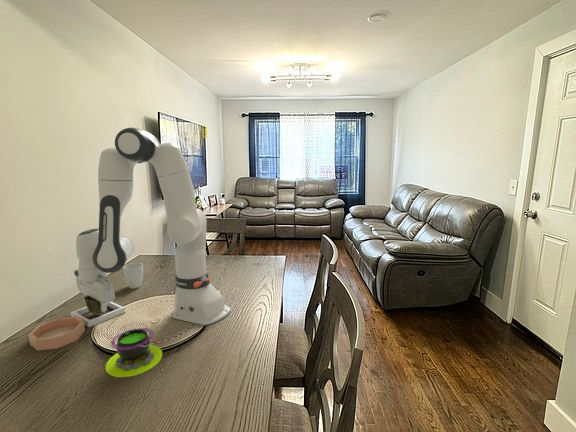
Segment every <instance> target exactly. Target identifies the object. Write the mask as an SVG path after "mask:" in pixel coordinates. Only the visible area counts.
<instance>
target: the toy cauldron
mask: <svg viewBox="0 0 576 432" xmlns="http://www.w3.org/2000/svg"><path fill="white" fill-rule="evenodd" d="M131 323H133V324H132V326H133V325H135V323H134V321H132V322H131ZM140 325H143V326H145V327H135V328H134V327H133V328H126V329H124V330H123V331H122V332H120V333H116V335H115V336H114V337H113V338H112V339H111V341H110V347H111V348H112V349H115V350H116V353H115V354H113V356H111V357H110V358H109V359H108V361H107V362H106V364H105V371H106V373H107V374H108V375H109V376H112V377H115V378H128V377H130V378H131V377H134V376H137V375H138V376H139V375H140V374H143V373H145V372H147V371H150V370H151V369H152V368H155V366H156V365H157V364H159V362H160V361H161V360H162V358H163V350H162V349H161V348H160V347H159V346H156V345H154V344H151V341H152V339H153V337H154V336H155V332H154V331H153V329H151V328H148V326H147V325H146V324H143V323H140ZM129 326H130V325H129V324H124V325H123V326H122V328H120V330H122V329H123V328H125V327H129ZM148 333H149V334H148ZM116 340H117V342H116Z"/></svg>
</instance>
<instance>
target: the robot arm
mask: <svg viewBox="0 0 576 432" xmlns="http://www.w3.org/2000/svg"><path fill="white" fill-rule="evenodd" d="M147 162H149V163H151V165H152V166H153V168H154V171H155V174H156V176H157V180H158V184H159V187H160V191H161V193H162V196H163V197H162V198H163V201H164V207H165V217H166V222H167V226H166V233H167V236H168V238H169V239H170V241H171V242H173V243H175V244H176V249H175V255H174V259H175V260H174V261H175V276H174V277H175V278H174V283H175V286H176V290H175V293H174V306H173V308H174V309H173V310H174V311H173V313H172V316H171V317H172V319H175V320H180V321H184V322H187V323H188V322H189V323H192V324H197V325H200V326H207V325H210V324H211V325H212V324H214V323H216V322H218V321H220V320H222V319H223V318H225V317H227V316H228V315H229V314H230V313H231V311H232V308H231V307H229V306H228V305H226V304H225V301H224V297H223V294H221V291H220V290H217V289H216V288H215V287H214V286H213V284H212V283H211V281H212V276H209V274H208V272H207V262H206V261H207V259H206V248H207V246H206V245H207V221H208V220H207V215H206V214H205V212H204V211H203V210H201V209H199V208H197V203H196V202H197V201H196V196H195V195H196V193H195V192H196V191H195V188H194V184H193V180H192V176H191V175H190V170H189V167H188V165H187V164H188V163H187V162H186V159H185V157H184V155H183V152H182V150H181V149H180V147H179V146H178V145H177V144H175V143H172V142H165V143H163V142H162V143H161V140H159V138H158V137H157V136H156V135H155V134H154V133H152V132H149V131H147V130H145V129H142V128H137V127H126V128H123V129H121V130H120V131H119V132H118V133H117V134H116V136H115V139H114V147H108V148H105V149H103V150H102V151H101V153H100V156H99V161H98V167H97V168H98V171H97V175H98V176H97V186H98V198H99V205H98V206H99V213H98V228H91V229H87V230H84V231H81V232H80V233H79V234H78V235H76V240H75V251H76V252H75V253H76V257H77V259H78V267H77V269H74V270H73V275H74V276H75V281H76V287H77V290H78V292H79V293H81V294H83V295H85V296H90V297H92V298H94V299H96V300H98V301H100V303H101V306H100V311H102V312H104V313H105V312H107V311H108V306H107V304H108V303H109V302H114V301H115V298H116V295H115V291H114V286H113V282H112V281H111V280H109V279H108V277H107V276H108V275H109V274H112V273H117V272H119V271H121V270H122V269H123V266H125V265H126V262H127V261H128V260H129V258H130V257H131V255H132V254H133V252H134V250H135V249H134V248H135V247H134V243H133V241H132V240H131V239H130V238H128V237H126V236H123V235H121V219H122V215H123V212H124V210H125V209H126V207H127V205H128V204H129V202H130V201H131V199H132V197H133V191H134V168H135V166H136V165H137V164H143V163H147Z"/></svg>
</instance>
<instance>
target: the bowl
mask: <svg viewBox="0 0 576 432" xmlns="http://www.w3.org/2000/svg"><path fill="white" fill-rule="evenodd" d="M85 327H86V326H85V325H84V321H83V320H81V319H79V318H78V317H71V316H70V317H61V318H60V317H59V318H56V319H53V320H50V321H47V322H45V323H42V324H39V325H37V326H36V327H35V328H34V329H33V330H32V331H30V333H28V341H29V346H31V347H33V348H34V349H35V350H36V351H43V350H45V351H46V350H55V349H59V348H62V347H65V346H67V345H69V344H71V343H74V342H76V341H78V340H79V339H80V338H81V337H82V335H83V334H84V333H85V332H86V328H85Z"/></svg>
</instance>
